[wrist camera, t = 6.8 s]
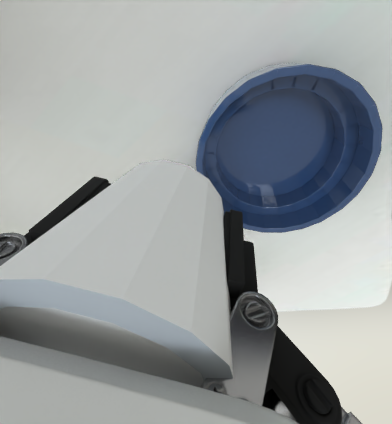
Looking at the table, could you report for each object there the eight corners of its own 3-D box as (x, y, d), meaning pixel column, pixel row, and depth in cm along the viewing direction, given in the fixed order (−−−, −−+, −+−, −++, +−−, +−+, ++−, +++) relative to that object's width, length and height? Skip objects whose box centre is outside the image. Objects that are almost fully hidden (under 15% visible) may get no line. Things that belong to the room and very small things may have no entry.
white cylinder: (114, 117, 9) (-111, 223, 3) (265, 184, 9) (308, 375, 4) (98, 231, 13) (-13, 368, 7) (204, 273, 13) (180, 429, 8)
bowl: (177, 153, 25) (165, 173, 21) (282, 18, 17) (299, 4, 13) (264, 223, 29) (270, 253, 25) (381, 139, 21) (421, 161, 17)
